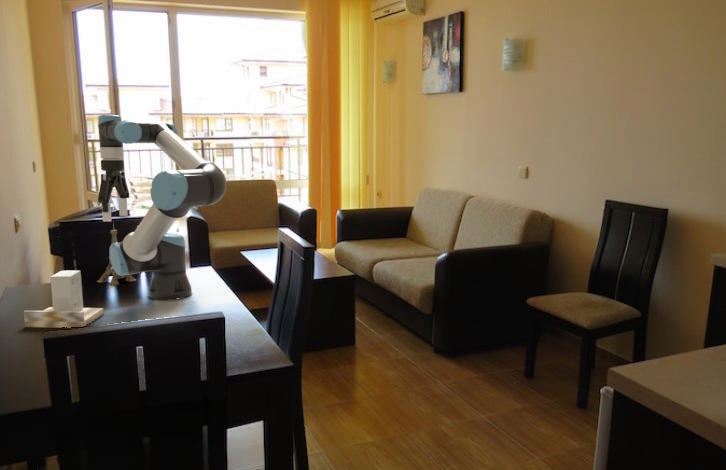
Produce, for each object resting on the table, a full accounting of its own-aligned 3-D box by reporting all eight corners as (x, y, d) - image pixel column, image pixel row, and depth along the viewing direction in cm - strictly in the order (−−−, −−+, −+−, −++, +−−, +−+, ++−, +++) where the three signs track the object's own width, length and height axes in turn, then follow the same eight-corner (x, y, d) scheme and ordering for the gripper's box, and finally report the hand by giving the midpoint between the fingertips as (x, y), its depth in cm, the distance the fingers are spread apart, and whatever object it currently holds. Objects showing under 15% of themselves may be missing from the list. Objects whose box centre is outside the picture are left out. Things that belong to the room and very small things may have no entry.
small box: (63, 308, 189) (60, 270, 187) (83, 308, 189) (81, 270, 187) (52, 316, 181) (49, 276, 179) (73, 316, 182) (70, 276, 179)
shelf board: (103, 313, 190) (102, 299, 190) (82, 328, 176) (81, 312, 176) (50, 312, 191) (48, 298, 190) (24, 327, 177) (23, 311, 176)
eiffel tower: (136, 280, 234) (133, 219, 229) (113, 285, 225) (109, 223, 220) (120, 276, 239) (116, 217, 235) (97, 281, 230) (92, 220, 226)
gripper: (116, 157, 216) (120, 213, 219) (84, 160, 191) (88, 223, 195) (136, 157, 216) (139, 213, 219) (106, 161, 191) (110, 224, 195)
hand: (115, 218), depth 207 cm, fingers open, 13 cm apart
